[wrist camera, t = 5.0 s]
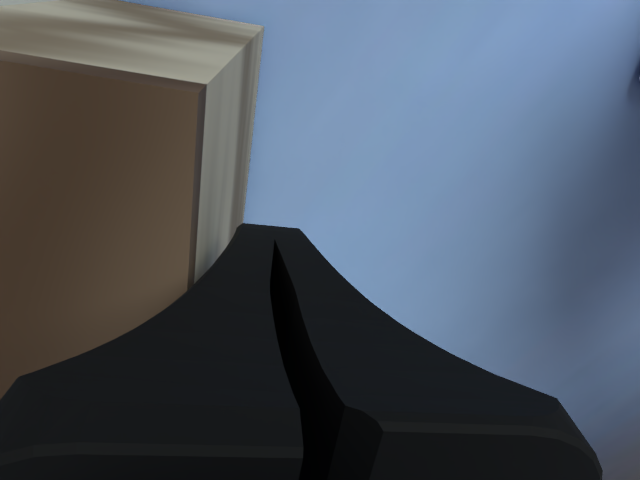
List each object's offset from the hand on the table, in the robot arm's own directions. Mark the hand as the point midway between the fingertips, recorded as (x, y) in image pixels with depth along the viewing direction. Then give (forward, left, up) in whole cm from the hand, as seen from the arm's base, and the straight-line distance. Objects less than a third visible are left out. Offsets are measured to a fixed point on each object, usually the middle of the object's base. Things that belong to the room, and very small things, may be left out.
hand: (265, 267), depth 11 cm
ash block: (+3, 0, -8) cm, 8 cm away
